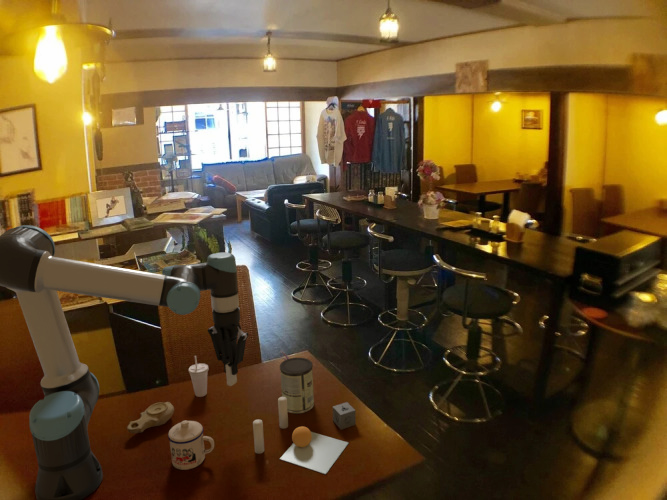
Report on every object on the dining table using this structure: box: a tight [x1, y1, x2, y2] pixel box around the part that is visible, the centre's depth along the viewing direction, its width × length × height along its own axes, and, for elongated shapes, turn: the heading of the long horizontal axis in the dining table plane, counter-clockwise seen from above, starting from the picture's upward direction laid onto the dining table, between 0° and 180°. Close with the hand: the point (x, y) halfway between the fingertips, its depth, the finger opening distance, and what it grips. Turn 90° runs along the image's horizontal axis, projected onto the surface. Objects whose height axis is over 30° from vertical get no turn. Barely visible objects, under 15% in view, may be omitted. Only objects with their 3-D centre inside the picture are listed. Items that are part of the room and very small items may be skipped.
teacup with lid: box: [167, 420, 215, 471], centre depth 134 cm, size 12×9×12 cm
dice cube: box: [332, 401, 357, 430], centre depth 150 cm, size 5×5×5 cm
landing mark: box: [279, 431, 349, 475], centre depth 138 cm, size 14×14×1 cm
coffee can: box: [279, 357, 315, 414], centre depth 159 cm, size 10×10×14 cm
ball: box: [291, 425, 312, 447], centre depth 140 cm, size 6×6×6 cm
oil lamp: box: [126, 401, 175, 434], centre depth 151 cm, size 11×14×5 cm
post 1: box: [252, 419, 265, 455], centre depth 138 cm, size 3×3×9 cm
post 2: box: [277, 396, 289, 429], centre depth 149 cm, size 3×3×9 cm
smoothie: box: [188, 355, 210, 398], centre depth 166 cm, size 6×6×14 cm
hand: (232, 383), depth 146 cm, fingers closed
